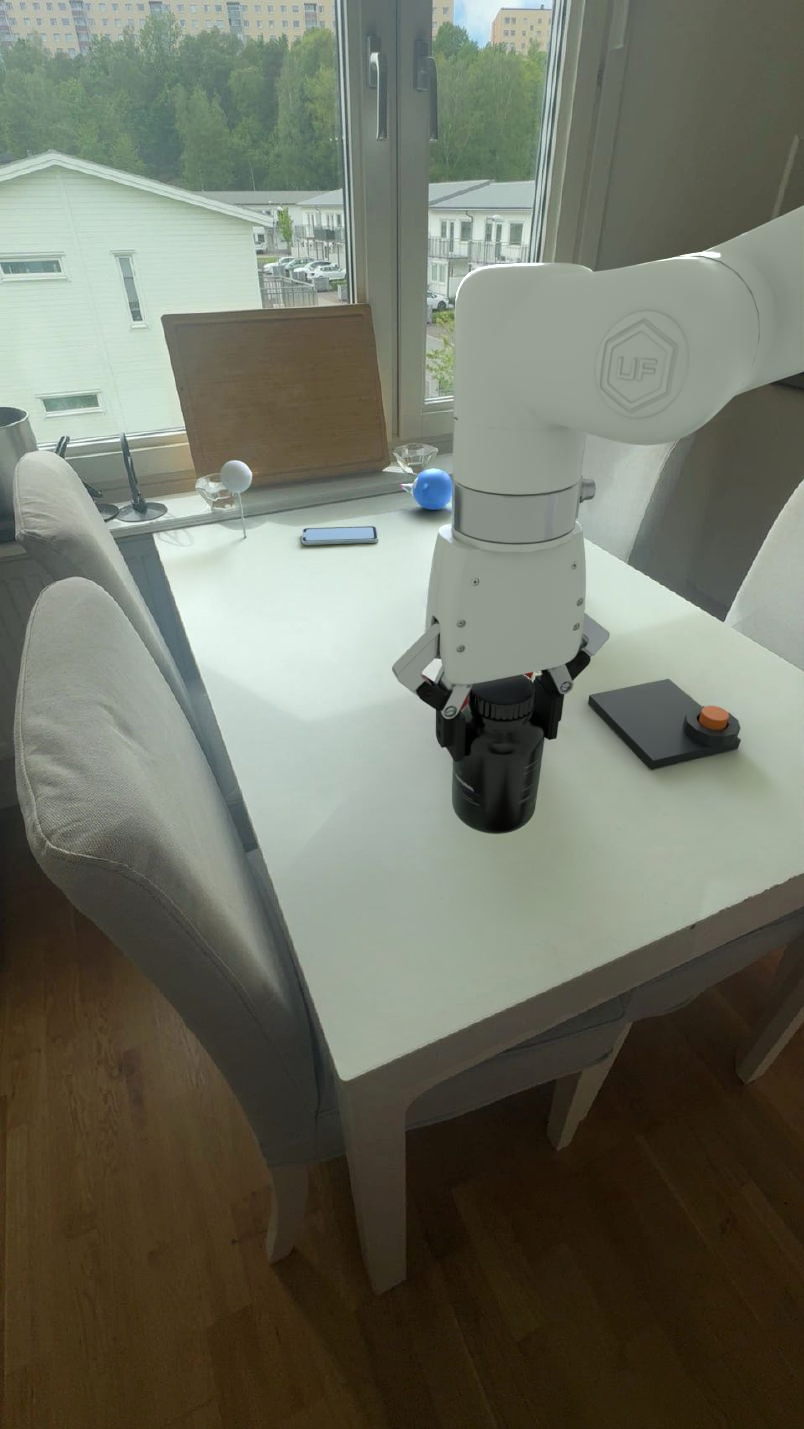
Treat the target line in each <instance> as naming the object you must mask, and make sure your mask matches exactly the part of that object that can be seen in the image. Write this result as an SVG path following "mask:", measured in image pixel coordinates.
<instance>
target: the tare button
mask: <svg viewBox="0 0 804 1429" xmlns="http://www.w3.org/2000/svg"><path fill="white" fill-rule="evenodd" d="M728 718H729V714H728V711H727V710H726V709H724V708H722V707H721V706H717V705H706V706H705V707H704V708H703V709H702V711H701V714H700V718H699V723H700V724H701V725H702V726H703V727H706V728H708V729H711V730H723V729H724V728H725V727H726V724H727V721H728Z"/></svg>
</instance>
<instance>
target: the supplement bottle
mask: <svg viewBox="0 0 804 1429" xmlns="http://www.w3.org/2000/svg"><path fill="white" fill-rule="evenodd" d="M535 697H536V687H535V686H534V683H533V680H532V678H531V679H529V677H527V676H525V675H524V674H521V675H516V676H511V677H506V678H501V679H496V680H492V681H487V682H482V683H476V684H473V686H472V687H471V689H470V691H469V697H468V705H466V706H465V707H464V708H463V709H462V710H461V712H462V713H463V715H464V716H465V719H466V731H465V758H463V760H462V761H458V762H455V761H454V760H453V759H452V778H451V780H452V781H451V803H452V804H451V805H452V808H453V811H454V813H455V815H456V817H457V818H458V819H459V820H460V821H461V822H462V823H463V824H464V825H466V826H467V827H469V828H471V829H472V830H474V831H478V832H480V833H483V834H489V835H490V834H491V835H504V834H508V833H512V832H515V831H518V830H519V829H521V828H523V827H524V826H526V825H527V824H528V823H529V822H530V821H531V819H532V817H533V816H534V814H535V811H536V806H537V799H538V794H539V793H538V792H539V784H540V777H541V769H542V760H543V754H544V745H545V740H546V738H545V726H544V723H543V721H542V718H541V717H540V715H539V714H538V713H537V711H536V710H535V706H536V702H535Z"/></svg>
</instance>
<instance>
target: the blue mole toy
mask: <svg viewBox="0 0 804 1429" xmlns="http://www.w3.org/2000/svg"><path fill="white" fill-rule="evenodd" d="M399 488H400V489H401V490H404V491H405V492H407V493H408V494H409V495H411V496H412V498H413V499H414V500H415V501H416V502H417V504H418V505H419V506H420V507H421V508H424V509H425V510H430V511H436V510H440V509H443V508H444V507H445V506H447V505H448V504H449V502H450V501H451V500H452V478H451V477H450V476H449V474H448V473H447V472H446V471H444V470H443V469H439V468H428V469H424V470H423V471H421V472H420V473H419V474H418V475H417V476H416V478H415V479H414V480H413V482H412V483H404V484H403V483H401V484H399Z"/></svg>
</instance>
